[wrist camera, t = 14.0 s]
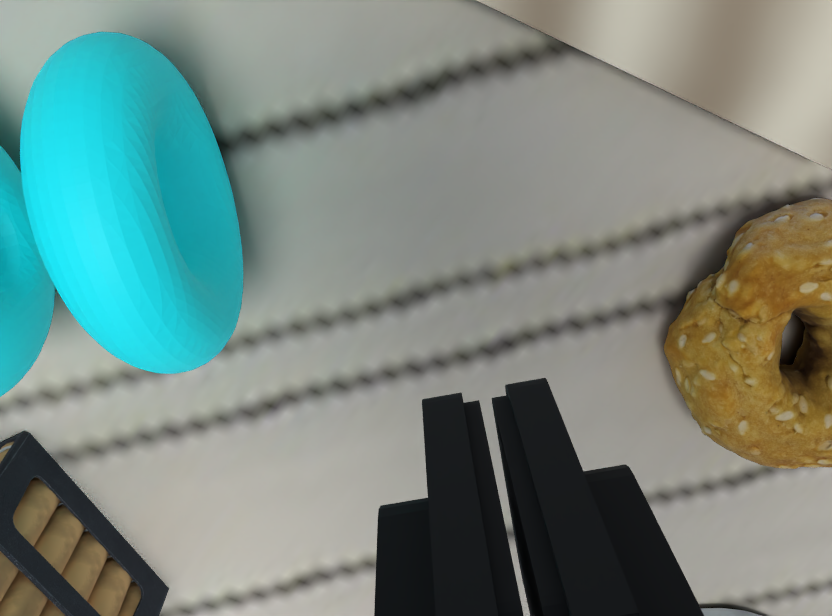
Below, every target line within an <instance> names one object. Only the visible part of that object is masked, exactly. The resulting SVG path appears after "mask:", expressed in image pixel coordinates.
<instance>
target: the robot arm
mask: <svg viewBox="0 0 832 616" xmlns="http://www.w3.org/2000/svg"><path fill="white" fill-rule="evenodd" d="M505 388H506V396H501V397H495V398H492V404H493V410H494V416H495V422H496V428H497V434H498V440H499V446H500V452H501V458H502V464H503V470H504V476H505V482H506V488H507V494H508V500H509V506H510V512H511V518H512V524H513V530H514V535H515V541H516V547H517V553H518V559H519V564H520V569H521V574H522V579H523V584H524V588H525V593H526V597H527V602H528V607H529V611H530V616H761V615H758V614H754V613H751V612H748V611H743V610H735V609H728V608H700V606H699V604H698V602H697V600H696V598H695V596H694V594H693V592H692V590H691V588H690V586H689V584H688V582H687V580H686V578H685V576H684V574H683V572H682V570H681V568H680V566H679V564H678V562H677V560H676V558H675V556H674V554H673V552H672V550H671V548H670V546H669V544H668V542H667V540H666V538H665V536H664V534H663V532H662V530H661V528H660V526H659V524H658V522H657V520H656V518H655V516H654V514H653V512H652V510H651V508H650V506H649V504H648V502H647V500H646V498H645V496H644V494H643V492H642V490H641V488H640V486H639V484H638V482H637V480H636V478H635V476H634V475H633V473H632V471H631V470H630V468H629V467H628V466H627V465H620V466H614V467H608V468H602V469H596V470H590V471H584V472H583V470H582V467H581V465H580V462H579V460H578V457H577V455H576V452H575V450H574V447H573V445H572V442H571V440H570V437H569V435H568V432H567V430H566V427H565V425H564V422H563V419H562V417H561V414H560V412H559V409H558V407H557V404H556V402H555V399H554V397H553V394H552V392H551V389H550V387H549V384H548V382H547V380H546V378H542V379H536V380H530V381H525V382H519V383H513V384H508V385H505ZM422 409H423V425H424V441H425V456H426V472H427V488H428V498H424V499H418V500H412V501H406V502H400V503H394V504H388V505H382V506H380V508H379V513H378V533H377V561H376V588H375V616H523V611H522V606H521V601H520V596H519V591H518V586H517V582H516V577H515V572H514V567H513V562H512V557H511V553H510V548H509V543H508V538H507V533H506V528H505V524H504V519H503V514H502V509H501V504H500V499H499V494H498V490H497V485H496V480H495V475H494V470H493V465H492V461H491V456H490V451H489V446H488V441H487V436H486V432H485V427H484V422H483V417H482V412H481V407H480V403H479V400H478V401H473V402H467V403H463V398H462V393H456V394H451V395H445V396H439V397H434V398H428V399H423V400H422Z"/></svg>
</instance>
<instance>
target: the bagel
mask: <svg viewBox="0 0 832 616" xmlns="http://www.w3.org/2000/svg"><path fill="white" fill-rule="evenodd" d="M727 256H728V257H727V259H726V262H725V266H724V267H722V268H721V270H720V271H719V272H717V273H716V274H710V275H709V276H708V277H707V278H706V279H705V280H702V281H700V282H699V284H698V286H697V288H695V289H693V290H692V291H689V292H688V295H687V299H686V302H685V304H684V307H683V309H682V311H681V312H680V314H679V316H678V317H677V319H676V320H675V321H674V322H673V323H672V324H671V325H670V327H669V331H668V335H667V338H666V341H665V344H664V352H665V355H666V357H667V359H668V361H669V364H670V367H671V371H672V375H673V378H674V380H675V383H676V385H677V387H678V389H679V391H680V392H681V394H682V396H683V398H684V400H685V402H686V404H687V406H688V408H689V409H690V410H691V413H692V416H693V418H694V419H695V420H696V421H697V422H698V424H699V426H700V428H701V430H702V433H703V434H704V435H707V436H709V437H710V438H711V439H712V440H713V441H714V442H716V443H717V444H719V445H721V446H722V447H724V448H726V449H727V450H729V451H732V452H734V453H736V454H737V455H739V456H741V457H743V458H745V459H748V460H750V461H753V462H755V463H758V464H760V465H764V466H770V467H774V468H782V469H796V468H798V467H810V468H817V467H832V200H829V199H823V198H812V199H810V200H806V201H802V202H798V203H795V204H793V205H786V206H784V207H782V208H780V209H778V210H776V211H772V212H769V213H767V214H765V215H763V216H761V217H759V218H757V219H753V220H750V221H748V222H746V223H745V224H744V225H743V226H742V227H741V228H740V229H739V230H738V231H737V232H736V235H735V238H734V240H733V242H732V245H731V246H730V247H729V249H728V250H727ZM792 313H793V314H795V315H796V316H798V317H799V318H800V320H801V321H803V323H804V325H805V328H806V329H805V331H804V335H803V336H804V339H803V343H802V345H801V347H800V348H799V349H798V352H797V353H796V355H797V357H796V358H795V360H794V363H793V364H792V365H780V364H779V362H780V355H781V347H782V333H783V331H784V328H785V326H786V325H787V324H788V321H789V320H790V318H791V314H792Z"/></svg>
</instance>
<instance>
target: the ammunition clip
mask: <svg viewBox="0 0 832 616" xmlns="http://www.w3.org/2000/svg"><path fill="white" fill-rule="evenodd" d="M168 590H169V588H168V587H167V586H166V585H165V584H164V582H163V581H162V580H161V579H160V578H159V577H158V576H157V575H156V573H155V572H154V571H153V570H152V569H151V568H150V567H149V566H148V565H147V563H146V562H145V561H144V560H143V559H142V558H141V557H140V556H139V554H138V553H137V552H136V551H135V550H134V549H133V548H132V547H131V545H130V544H129V543H128V542H127V541H126V540H125V539H124V538H123V537H122V535H121V534H120V533H119V532H118V531H117V530H116V529H115V528H114V526H113V525H112V524H111V523H110V522H109V521H108V520H107V519H106V518H105V516H104V515H103V514H102V513H101V512H100V511H99V510H98V509H97V507H96V506H95V505H94V504H93V503H92V502H91V501H90V500H89V499H88V497H87V496H86V495H85V494H84V493H83V492H82V491H81V490H80V488H79V487H78V486H77V485H76V484H75V483H74V482H73V481H72V480H71V478H70V477H69V476H68V475H67V474H66V473H65V472H64V471H63V469H62V468H61V467H60V466H59V465H58V464H57V463H56V462H55V460H54V459H53V458H52V457H51V456H50V455H49V454H48V453H47V452H46V450H45V449H44V448H43V447H42V446H41V445H40V444H39V443H38V441H37V440H36V439H35V438H34V437H33V436H32V435H31V434H30V433H25V432H22V433H20V434H18V435H16V436H14V437H11V438H9V439H7V440H5V441H3V442H1V443H0V616H159V614H160V611H161V609H162V606H163V603H164V601H165V598H166V595H167V593H168Z"/></svg>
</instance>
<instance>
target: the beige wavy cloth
mask: <svg viewBox="0 0 832 616" xmlns="http://www.w3.org/2000/svg"><path fill="white" fill-rule="evenodd" d="M476 1H478V2H480V3H482V4H484V5H486V6H488V7H490V8H493V9H495V10H497V11H499V12H501V13H503V14H505V15H507V16H509V17H511V18H514V19H516V20H518V21H520V22H522V23H524V24H526V25H528V26H530V27H532V28H534V29H537V30H539V31H541V32H543V33H545V34H547V35H549V36H551V37H553V38H555V39H558V40H560V41H562V42H564V43H566V44H568V45H570V46H572V47H574V48H576V49H578V50H581V51H583V52H585V53H587V54H589V55H591V56H593V57H595V58H597V59H599V60H602V61H604V62H606V63H608V64H610V65H612V66H614V67H616V68H618V69H620V70H622V71H625V72H627V73H629V74H631V75H633V76H635V77H637V78H639V79H641V80H643V81H646V82H648V83H650V84H652V85H654V86H656V87H658V88H660V89H662V90H664V91H666V92H669V93H671V94H673V95H675V96H677V97H679V98H681V99H683V100H685V101H687V102H690V103H692V104H694V105H696V106H698V107H700V108H702V109H704V110H706V111H708V112H711V113H713V114H715V115H717V116H719V117H721V118H723V119H725V120H727V121H729V122H731V123H734V124H736V125H738V126H740V127H742V128H744V129H746V130H748V131H750V132H752V133H755V134H757V135H759V136H761V137H763V138H765V139H767V140H769V141H771V142H773V143H775V144H778V145H780V146H782V147H784V148H786V149H788V150H790V151H792V152H794V153H796V154H799V155H801V156H803V157H805V158H807V159H809V160H811V161H813V162H815V163H818V164H820V165H822V166H824V167H826V168H829V169H831V170H832V0H476Z"/></svg>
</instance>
